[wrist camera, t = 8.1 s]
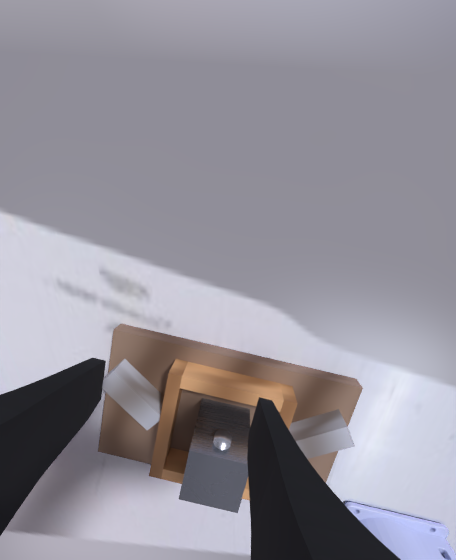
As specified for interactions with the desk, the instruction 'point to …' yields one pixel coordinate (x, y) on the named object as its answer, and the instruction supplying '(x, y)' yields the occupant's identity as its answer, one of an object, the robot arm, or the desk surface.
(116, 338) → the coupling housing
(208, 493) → the block
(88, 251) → the desk surface
